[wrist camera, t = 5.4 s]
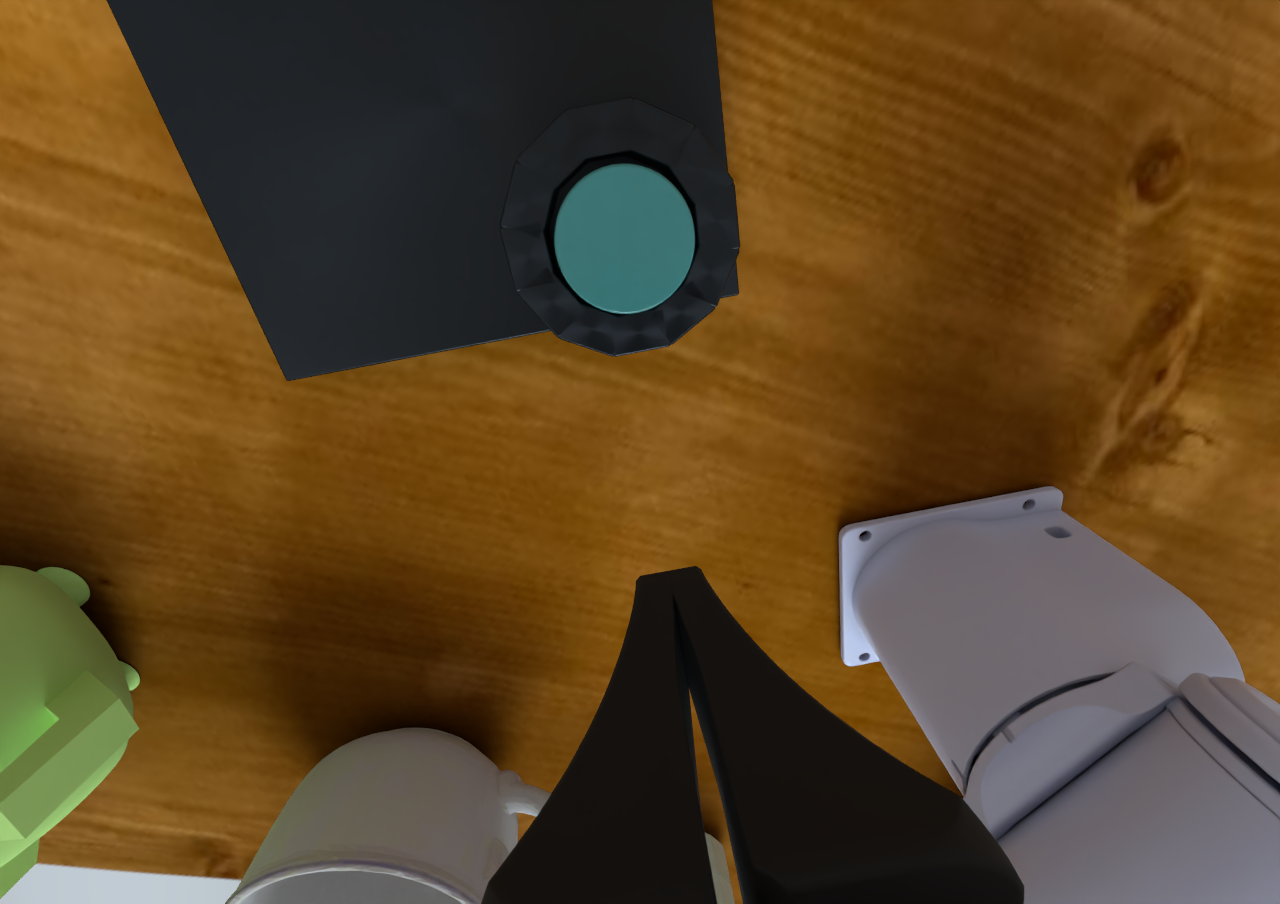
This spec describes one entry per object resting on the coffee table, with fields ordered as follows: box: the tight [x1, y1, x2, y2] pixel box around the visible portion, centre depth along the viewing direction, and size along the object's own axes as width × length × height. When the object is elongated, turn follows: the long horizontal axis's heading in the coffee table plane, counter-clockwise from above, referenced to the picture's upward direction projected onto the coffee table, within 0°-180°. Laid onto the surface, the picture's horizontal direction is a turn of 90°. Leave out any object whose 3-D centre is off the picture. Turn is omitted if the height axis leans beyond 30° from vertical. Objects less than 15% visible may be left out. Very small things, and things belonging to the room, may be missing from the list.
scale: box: [107, 0, 740, 381], centre depth 15 cm, size 15×14×3 cm
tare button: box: [554, 163, 695, 314], centre depth 15 cm, size 4×4×2 cm
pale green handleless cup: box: [705, 832, 735, 904], centre depth 31 cm, size 6×6×4 cm
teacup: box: [225, 728, 551, 904], centre depth 24 cm, size 14×11×8 cm
